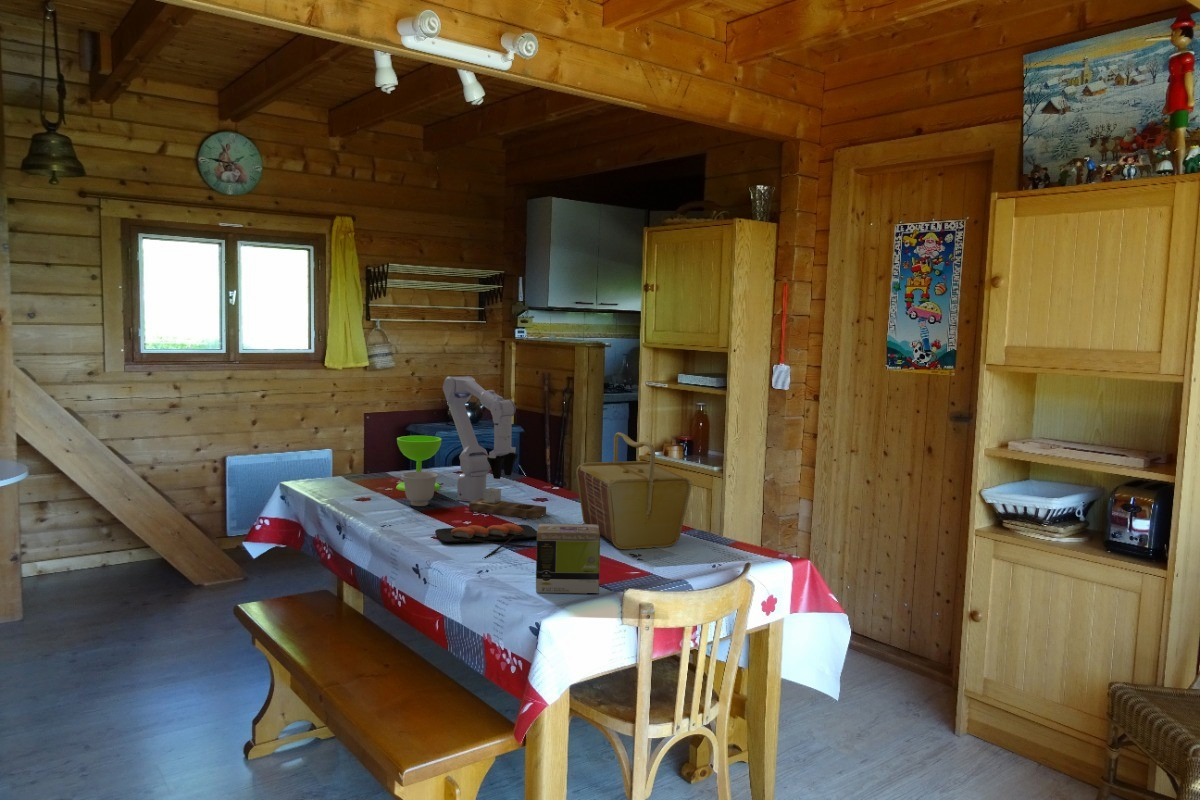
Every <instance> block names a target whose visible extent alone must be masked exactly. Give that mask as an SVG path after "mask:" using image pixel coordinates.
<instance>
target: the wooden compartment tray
mask: <svg viewBox="0 0 1200 800" xmlns="http://www.w3.org/2000/svg"><path fill="white" fill-rule="evenodd" d="M468 504H469V505H468V511H470V512H479V513H484V514H485V513H486V514H492V515H493V514H494V515H499V516H500V515H501V516H502V515H503V516H509V517H515V516H518V517H517V518H523V517H526V518H525V519H531V518H535V519H534V520H536V518H537V519H539V518H541V517H543V516H545V515H547V506H543V505H538V504H537V505H536V504H529V503H528V504H527V503H520V502H511V501H507V500H501V502H500V503H498V504H495V505H494V504H486V503H484V499H478V500H476V501H473V502H470V501H469V502H468ZM544 514H545V515H544ZM542 515H543V516H542ZM540 516H541V517H540ZM538 517H539V518H538Z"/></svg>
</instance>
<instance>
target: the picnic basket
mask: <svg viewBox="0 0 1200 800" xmlns="http://www.w3.org/2000/svg"><path fill="white" fill-rule="evenodd" d="M619 437H621V438H622V439H623V440H624V442H625V443H626V444H627V445H628V446H630V447H633V448H643V447H644V446H646V447H648V448H649V450H650V452H649V453H650V459H649V460H650V461H646V460H643V461H642V460H638V461H637V460H636V461H619V460H618V459H619V457H618V455H619V452H618V451H619ZM655 449H656V448H655V447H654V444H651V443H649V442H647V441H638V442H636V441H634V440H633V439H631V437H629V436H628V435H627V434H625V433H623V432H619V431H618V432H616V433H615V434H614V438H613V461H601V462H600V461H599V462H584V463H581V464H580V465H578V467H577V468H576V470H575V473H576V481H577V487H578V495H579V500H580V501H579V502H580V508H581V509H580V510H581V517H582V521H583V524H598V525H599V532H600V536H602V537H604V538H606V540H607V541H609V542H611V543H612V544H613V545H614V546H615V547H616V548H617V549H619V550H622V549H631V550H637V549H636V548H647V549H653V548H652V547H662V548H668V547H672V546H674V545H675V544H676V543H677V542H678V541H679V540H680V538H681V535H682V534H681V533H682V529H683V525H684V522H685V516H686V512H687V509H688V504H689V499H690V495H691V491H692V482H691V480H690V479H689V478H687V477H684V476H681V475H679V474H677V473H676V472H672V471H670V470H667V469H665V468H662V466H661V467H660V466H658V465H656V464H655V460H656V450H655Z"/></svg>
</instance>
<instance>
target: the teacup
mask: <svg viewBox="0 0 1200 800" xmlns="http://www.w3.org/2000/svg"><path fill="white" fill-rule="evenodd" d="M401 477H402V478H403V482H404V485H405V491H404V493H405V496H406V498H407V500H409V501H410V505H411V506H415V507H425V506H428V505H429V501H430V500H432V499H433V497H434V494H435V491H434V489H435V483H437V479H438V477H439V474H437V473H436V472H431V471H421V472H416V471H409V472H404V473H402V474H401Z"/></svg>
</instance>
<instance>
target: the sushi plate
mask: <svg viewBox="0 0 1200 800" xmlns="http://www.w3.org/2000/svg"><path fill="white" fill-rule="evenodd" d="M434 532H435V535H436V537H437V538H438V539H439V540H440V541H441V542H444V543H453V542H454V543H455V544H456V543H458V542H462V543H477V542H478V543H485V544H494V545H499V546H498V547H497V548H495V549H494V550H493V551H491V552H489V553H488V554H487V555H484V557H483V558H486V557H487V558H489V557H490V555H491V556H492V554H493V555H494V554H495V553H497V552H498V551H499V550H500V549H502V548H503V547H504V546H510V547H517V548H518V547H519V548H533V547H537V545H527V544H517V543H516V544H515V543H509V542H510V541H512V539H513V540H525V539H532V538H537V530H536V529H535V528H534V527H533V526H531V525H529V524H521V523H520V524H515V523H509V522H508V523H503V524H501V525H500V524H494V525H493V524H492V525H476V524H474V525H473V524H472V525H468V526H458V527H445V528H438V529H435V531H434ZM497 541H505V542H497ZM488 556H489V557H488ZM487 558H486V559H487Z"/></svg>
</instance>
